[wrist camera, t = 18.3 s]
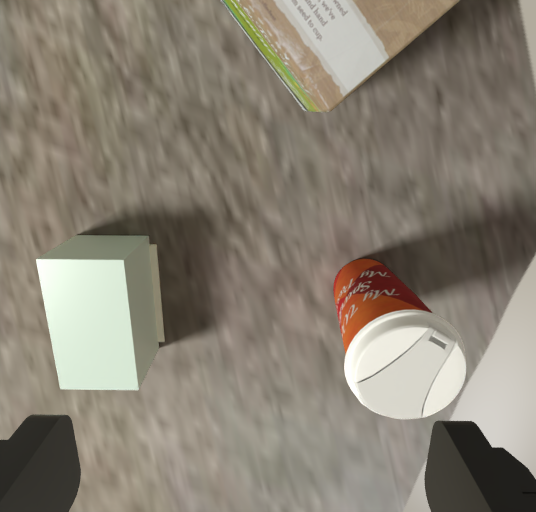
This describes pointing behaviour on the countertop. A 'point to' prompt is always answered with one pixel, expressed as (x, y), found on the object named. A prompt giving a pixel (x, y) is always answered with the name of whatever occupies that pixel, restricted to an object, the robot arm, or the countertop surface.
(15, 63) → the countertop surface
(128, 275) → the mint green rectangular block
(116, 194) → the countertop surface
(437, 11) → the tea box
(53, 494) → the robot arm
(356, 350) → the paper cup
